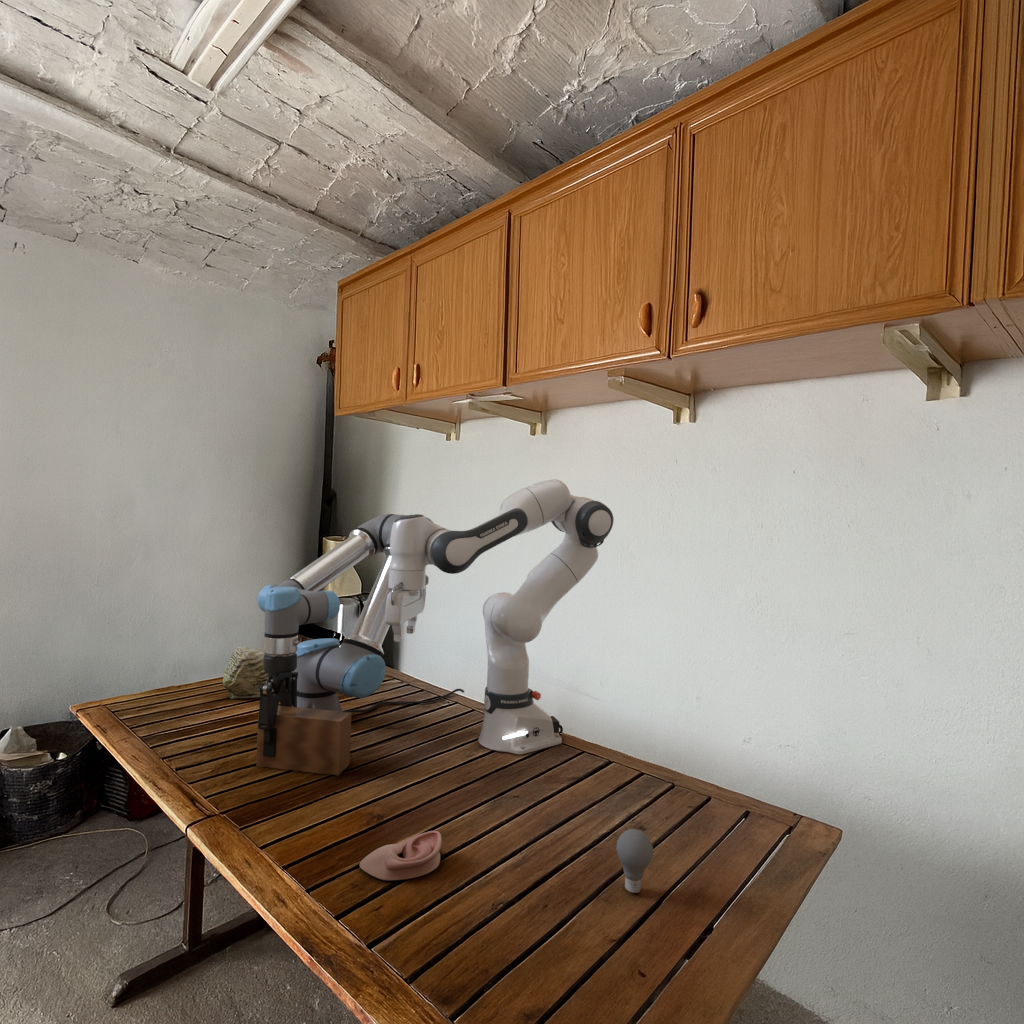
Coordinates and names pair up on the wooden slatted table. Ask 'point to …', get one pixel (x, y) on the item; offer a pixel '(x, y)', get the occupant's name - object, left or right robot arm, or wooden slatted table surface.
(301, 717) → the box
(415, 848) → the anatomical model
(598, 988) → the wooden slatted table surface
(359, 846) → the wooden slatted table surface
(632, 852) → the light bulb
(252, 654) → the fossil
